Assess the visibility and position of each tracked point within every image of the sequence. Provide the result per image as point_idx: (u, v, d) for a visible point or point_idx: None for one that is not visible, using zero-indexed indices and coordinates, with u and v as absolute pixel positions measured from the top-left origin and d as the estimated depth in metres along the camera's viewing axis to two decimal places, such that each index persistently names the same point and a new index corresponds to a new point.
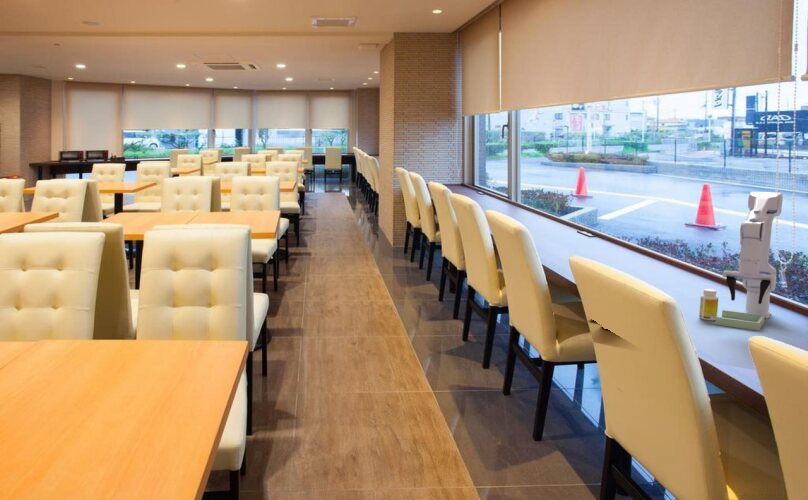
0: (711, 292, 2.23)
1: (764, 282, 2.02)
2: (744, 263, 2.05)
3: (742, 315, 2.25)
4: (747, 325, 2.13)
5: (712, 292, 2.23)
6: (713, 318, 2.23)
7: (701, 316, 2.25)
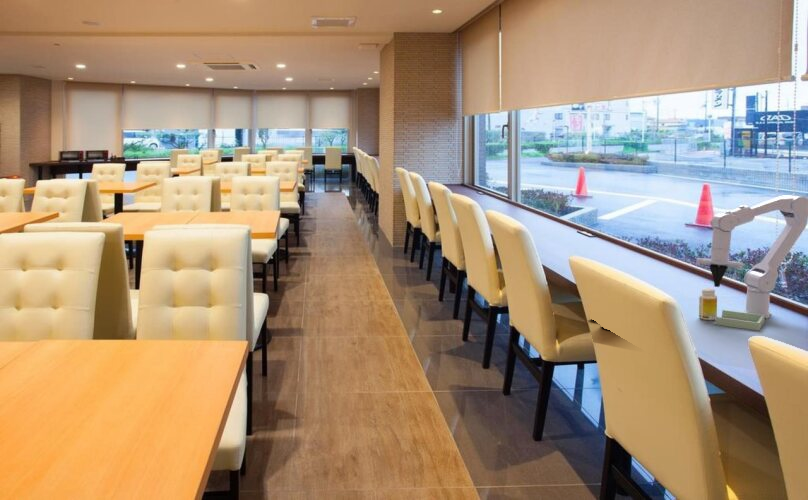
0: (709, 291, 2.23)
1: None
2: (715, 251, 2.26)
3: (742, 315, 2.25)
4: (747, 325, 2.13)
5: (710, 291, 2.23)
6: (712, 317, 2.23)
7: (700, 316, 2.25)
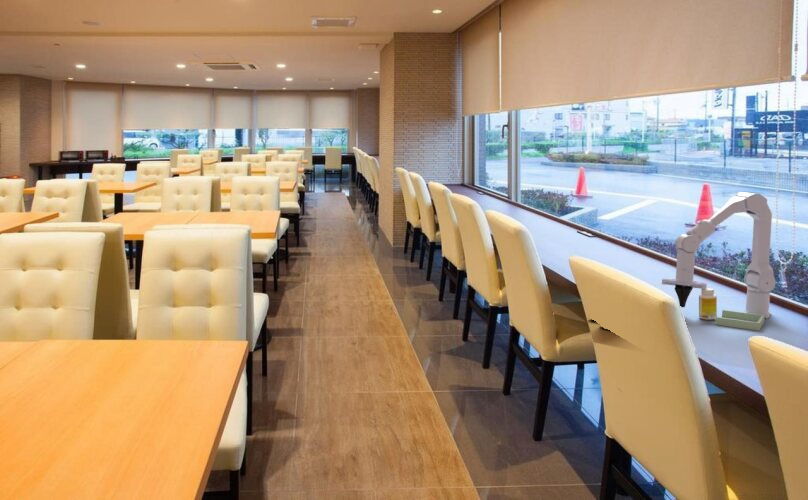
0: (707, 291, 2.23)
1: None
2: (679, 272, 2.27)
3: (742, 315, 2.25)
4: (747, 325, 2.13)
5: (708, 291, 2.23)
6: (711, 317, 2.23)
7: (700, 315, 2.26)
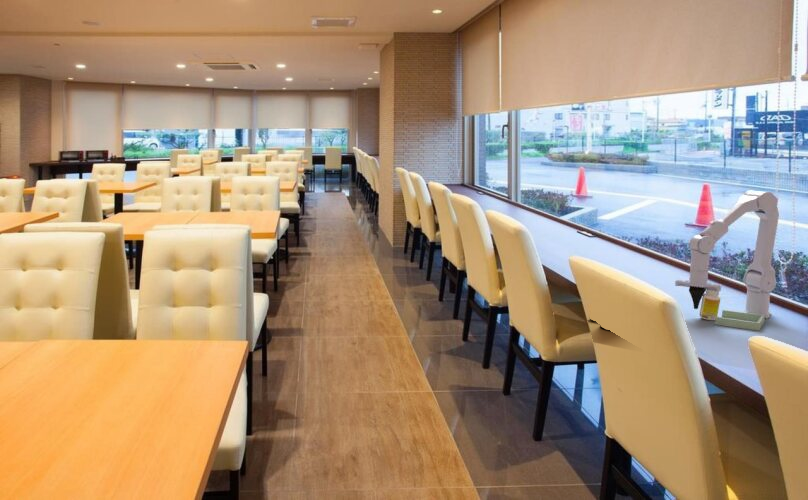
0: (712, 292, 2.22)
1: None
2: (693, 273, 2.25)
3: (742, 315, 2.25)
4: (747, 325, 2.13)
5: (713, 292, 2.22)
6: (711, 318, 2.23)
7: (700, 314, 2.26)
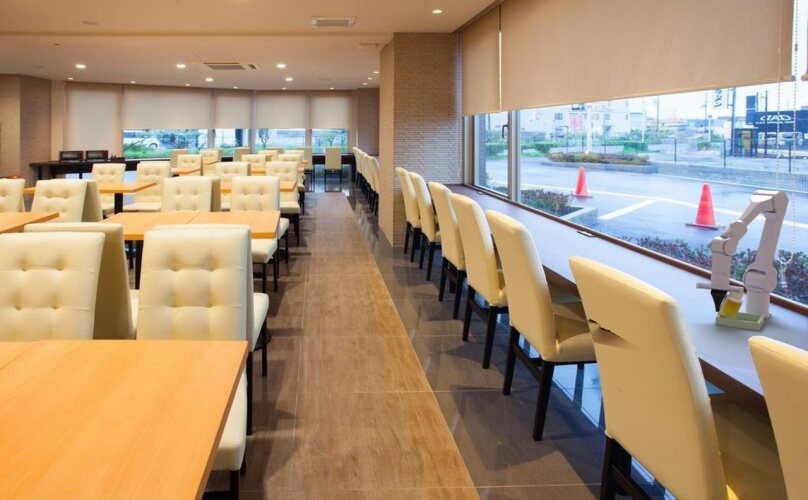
0: (736, 294, 2.18)
1: None
2: (715, 276, 2.21)
3: (742, 315, 2.25)
4: (747, 325, 2.13)
5: (737, 295, 2.18)
6: None
7: (718, 314, 2.22)
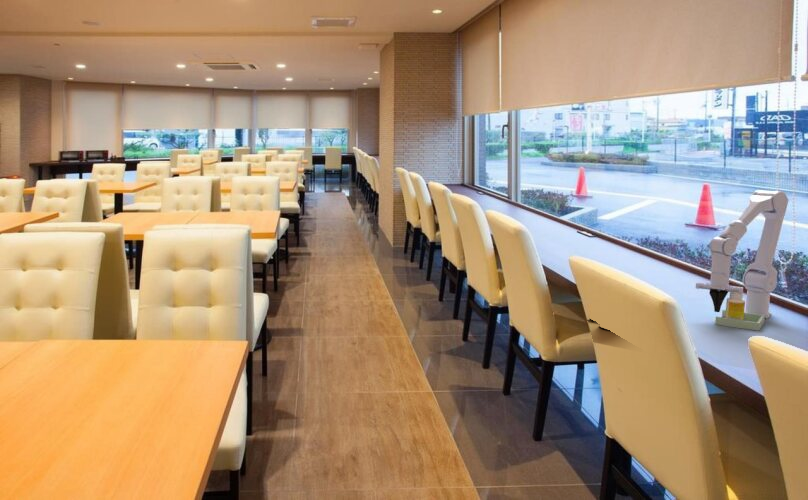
0: (735, 295, 2.18)
1: None
2: (715, 276, 2.21)
3: None
4: (747, 325, 2.13)
5: (737, 295, 2.18)
6: None
7: None
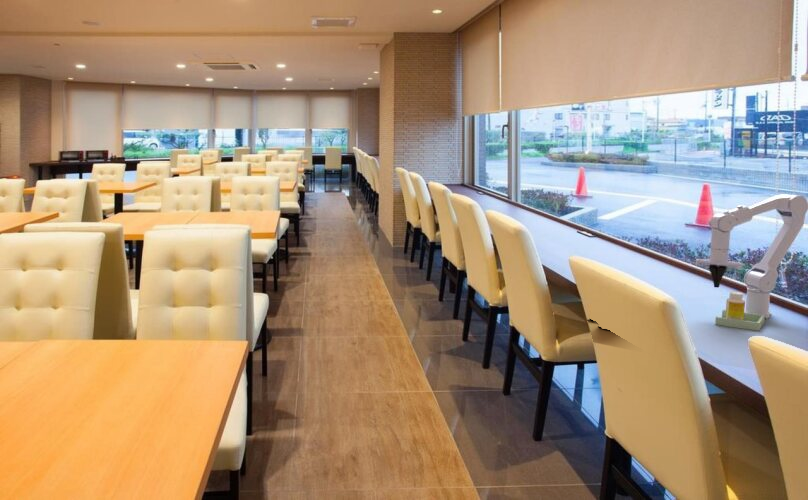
0: (736, 295, 2.18)
1: None
2: (714, 252, 2.26)
3: None
4: (747, 325, 2.13)
5: (737, 295, 2.18)
6: None
7: None
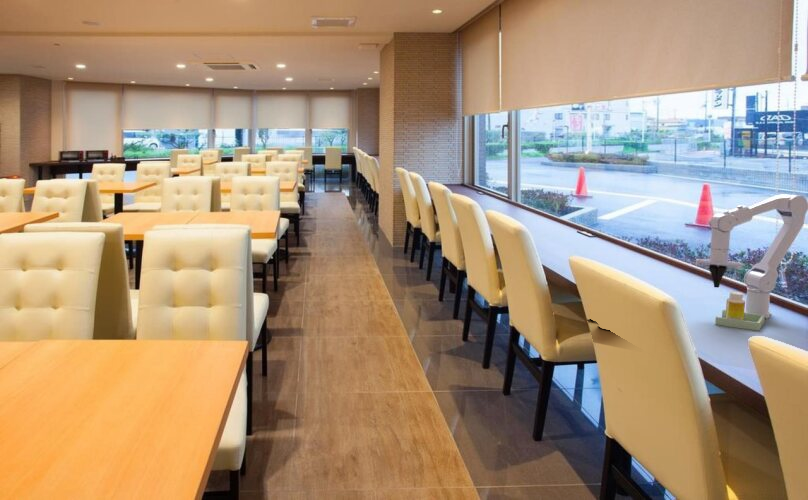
0: (736, 295, 2.18)
1: None
2: (714, 252, 2.26)
3: None
4: (747, 325, 2.13)
5: (737, 295, 2.18)
6: None
7: None
